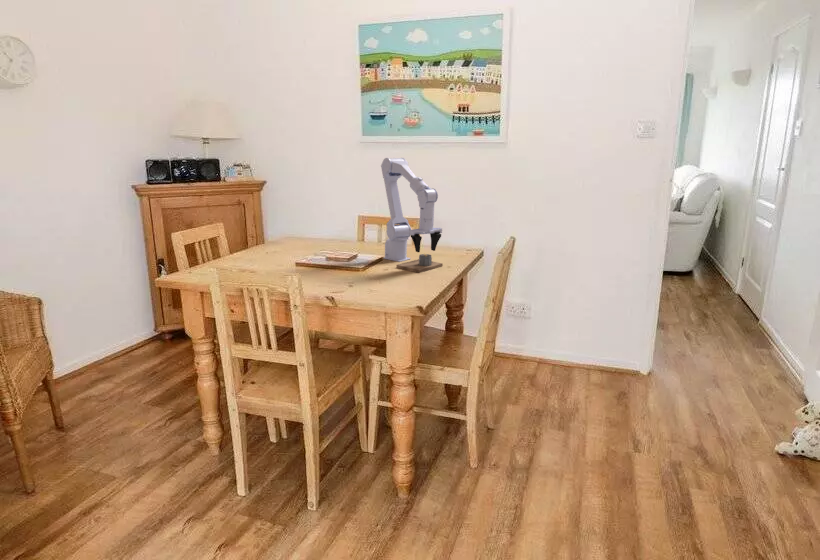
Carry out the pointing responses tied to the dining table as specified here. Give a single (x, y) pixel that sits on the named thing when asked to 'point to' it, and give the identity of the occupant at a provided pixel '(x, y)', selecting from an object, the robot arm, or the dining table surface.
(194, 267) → the dining table surface
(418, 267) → the stud board
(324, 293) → the dining table surface
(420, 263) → the grey control knob
